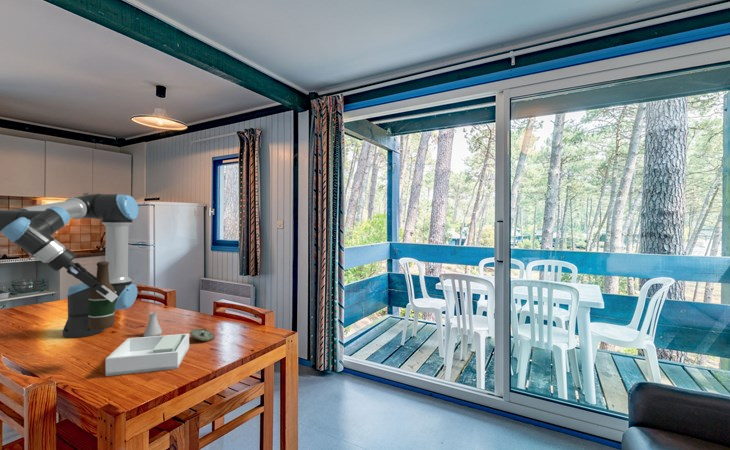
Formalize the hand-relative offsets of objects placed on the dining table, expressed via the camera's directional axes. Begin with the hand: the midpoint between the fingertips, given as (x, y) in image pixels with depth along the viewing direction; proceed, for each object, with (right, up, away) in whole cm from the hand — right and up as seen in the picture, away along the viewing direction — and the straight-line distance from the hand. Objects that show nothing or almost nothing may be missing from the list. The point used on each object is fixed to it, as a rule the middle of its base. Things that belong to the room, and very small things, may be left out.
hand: (114, 296), depth 125 cm
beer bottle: (-3, -11, -2) cm, 11 cm away
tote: (+13, -25, +2) cm, 28 cm away
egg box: (+18, -24, +4) cm, 30 cm away
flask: (-4, -24, +29) cm, 38 cm away
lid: (+21, -25, +25) cm, 41 cm away
